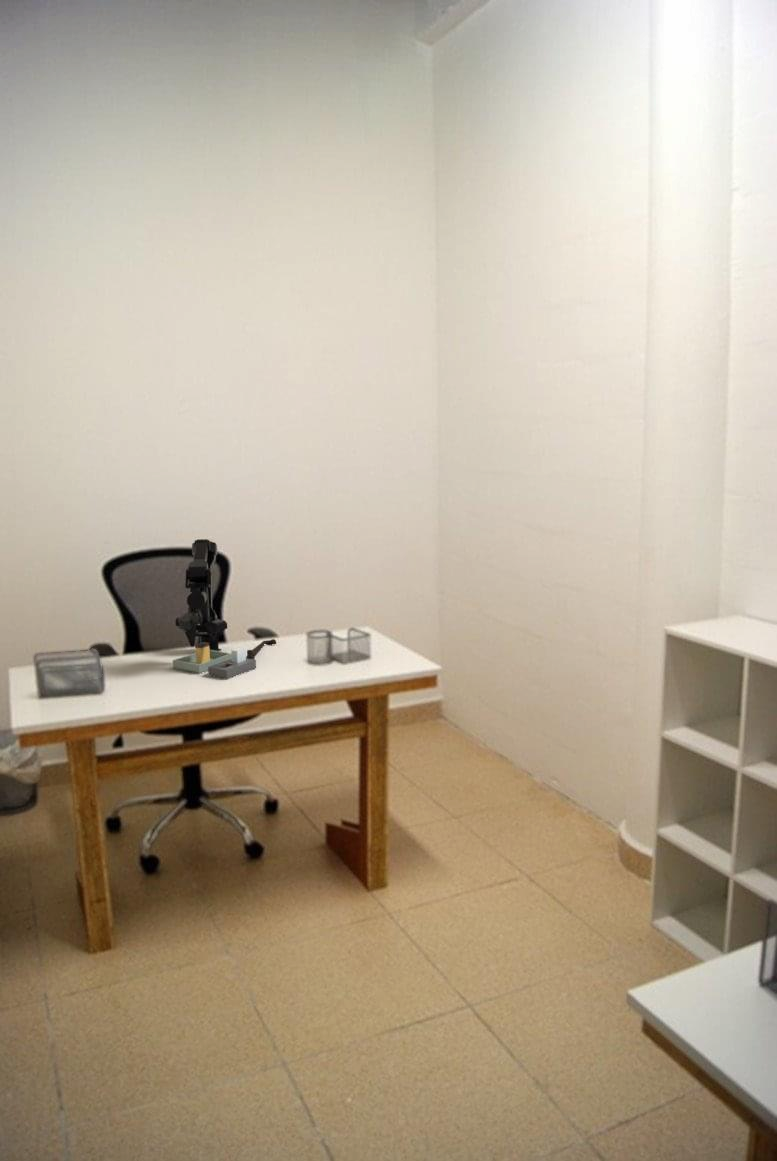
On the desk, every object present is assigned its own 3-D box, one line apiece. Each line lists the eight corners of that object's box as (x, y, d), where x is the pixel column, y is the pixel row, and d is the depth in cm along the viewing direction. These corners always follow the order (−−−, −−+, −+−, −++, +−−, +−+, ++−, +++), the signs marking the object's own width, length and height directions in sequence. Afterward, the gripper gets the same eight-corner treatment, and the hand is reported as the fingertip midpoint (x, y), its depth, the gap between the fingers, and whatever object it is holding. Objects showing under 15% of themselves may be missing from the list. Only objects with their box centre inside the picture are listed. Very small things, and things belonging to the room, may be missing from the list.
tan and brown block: (196, 664, 298) (195, 644, 297) (204, 661, 301) (203, 641, 300) (201, 665, 297) (200, 645, 295) (210, 662, 300) (209, 642, 299)
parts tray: (173, 669, 296) (172, 660, 295) (207, 657, 309) (206, 649, 308) (199, 674, 289) (199, 665, 289) (233, 662, 302) (232, 653, 302)
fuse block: (208, 675, 287) (208, 666, 287) (238, 665, 299) (237, 656, 298) (227, 679, 283) (226, 670, 282) (256, 668, 294) (255, 659, 294)
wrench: (277, 649, 326) (260, 666, 296) (263, 650, 326) (245, 667, 296) (276, 635, 325) (258, 651, 295) (262, 636, 326) (243, 652, 296)
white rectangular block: (232, 670, 292) (231, 650, 291) (240, 667, 296) (239, 647, 294) (238, 671, 291) (237, 651, 290) (246, 668, 294) (245, 648, 293)
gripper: (161, 604, 293) (164, 650, 296) (203, 610, 283) (205, 657, 286) (186, 598, 302) (189, 642, 305) (227, 603, 293) (229, 649, 295)
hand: (202, 648), depth 298 cm, fingers open, 9 cm apart
